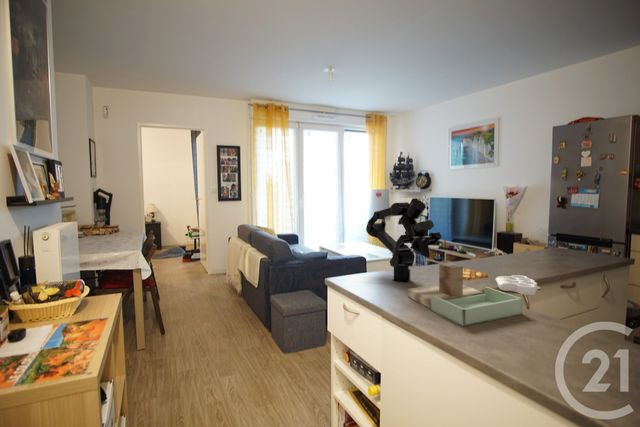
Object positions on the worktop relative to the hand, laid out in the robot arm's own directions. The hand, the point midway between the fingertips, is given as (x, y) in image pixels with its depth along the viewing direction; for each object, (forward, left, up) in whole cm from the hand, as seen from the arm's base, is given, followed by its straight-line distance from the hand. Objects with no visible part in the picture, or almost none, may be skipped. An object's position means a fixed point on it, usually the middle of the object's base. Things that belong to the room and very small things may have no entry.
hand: (428, 257), depth 128 cm
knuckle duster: (+32, +18, -14) cm, 40 cm away
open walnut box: (+9, -8, -10) cm, 16 cm away
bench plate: (+6, -6, -13) cm, 16 cm away
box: (+17, -16, -13) cm, 27 cm away
